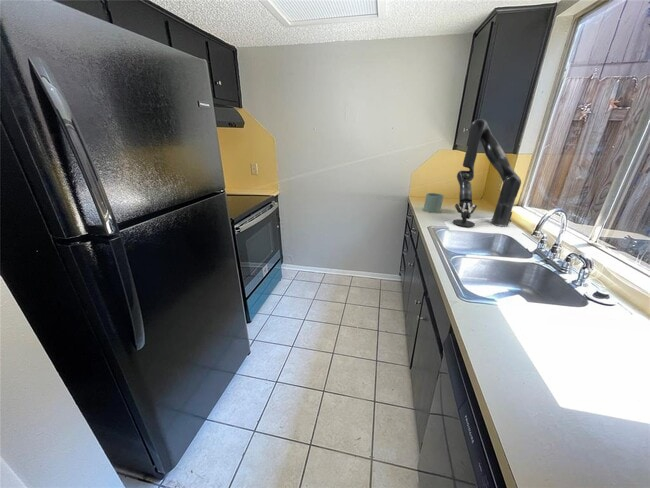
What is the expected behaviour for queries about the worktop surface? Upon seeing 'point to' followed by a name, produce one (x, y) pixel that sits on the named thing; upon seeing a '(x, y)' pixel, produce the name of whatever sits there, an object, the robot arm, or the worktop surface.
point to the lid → (464, 221)
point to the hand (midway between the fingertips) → (465, 218)
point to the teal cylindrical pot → (433, 202)
